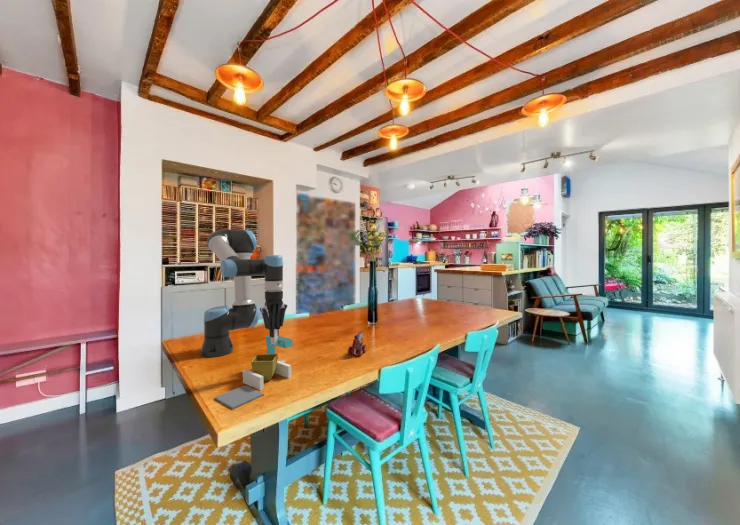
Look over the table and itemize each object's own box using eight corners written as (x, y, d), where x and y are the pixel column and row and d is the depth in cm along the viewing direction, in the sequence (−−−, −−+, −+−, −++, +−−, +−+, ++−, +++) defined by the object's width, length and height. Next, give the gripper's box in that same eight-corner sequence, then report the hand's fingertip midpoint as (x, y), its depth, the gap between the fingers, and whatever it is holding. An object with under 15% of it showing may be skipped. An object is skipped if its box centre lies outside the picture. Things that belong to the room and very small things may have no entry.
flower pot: (257, 374, 128) (257, 354, 128) (278, 374, 129) (278, 353, 129) (251, 383, 120) (250, 361, 119) (273, 383, 120) (273, 361, 120)
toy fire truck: (346, 356, 151) (346, 336, 151) (355, 349, 163) (355, 330, 162) (359, 358, 149) (359, 337, 148) (367, 350, 160) (367, 331, 160)
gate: (266, 365, 136) (265, 336, 136) (273, 363, 140) (273, 334, 139) (285, 372, 129) (285, 341, 128) (292, 369, 132) (292, 339, 131)
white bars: (234, 378, 124) (233, 366, 124) (282, 361, 144) (282, 350, 144) (260, 390, 114) (260, 377, 114) (308, 369, 134) (308, 358, 134)
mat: (214, 398, 107) (214, 397, 107) (245, 386, 117) (245, 385, 117) (232, 409, 100) (232, 407, 100) (263, 395, 110) (263, 393, 110)
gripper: (266, 292, 123) (266, 349, 124) (291, 289, 133) (291, 341, 134) (255, 291, 127) (255, 346, 128) (280, 288, 138) (281, 338, 139)
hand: (274, 343), depth 131 cm, fingers closed
